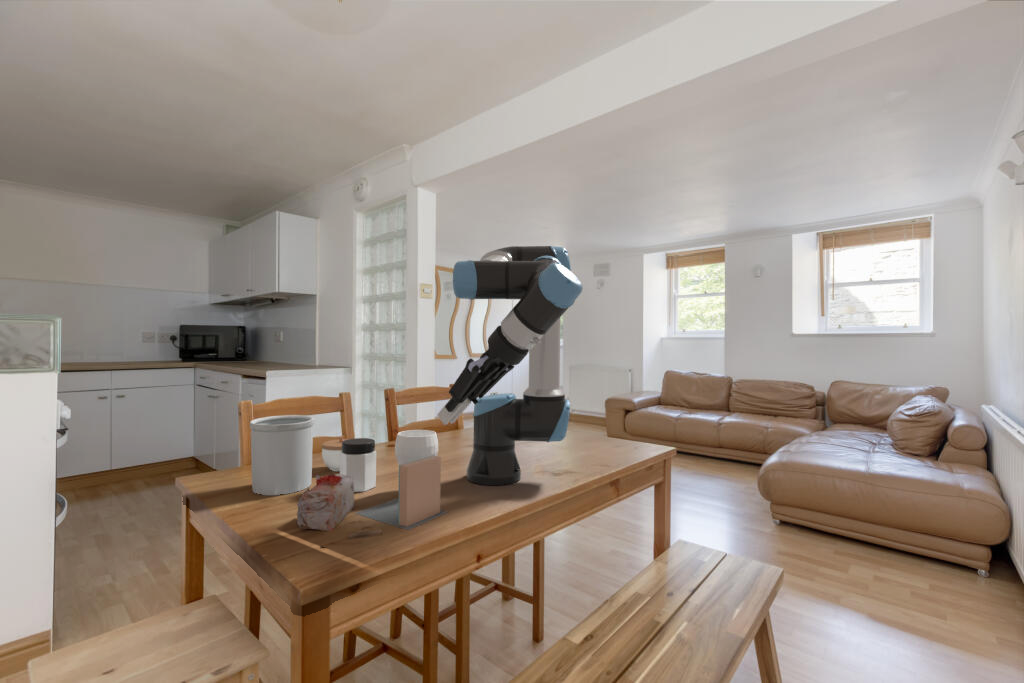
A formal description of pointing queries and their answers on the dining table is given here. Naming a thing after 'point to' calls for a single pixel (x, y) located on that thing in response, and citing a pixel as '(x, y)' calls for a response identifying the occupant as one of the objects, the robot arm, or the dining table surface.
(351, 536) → the spatula
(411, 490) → the tile
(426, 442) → the cup
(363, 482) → the jar
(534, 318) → the robot arm
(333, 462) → the lidded jar
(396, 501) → the mat
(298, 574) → the dining table surface
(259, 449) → the utensil holder
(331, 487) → the food item
